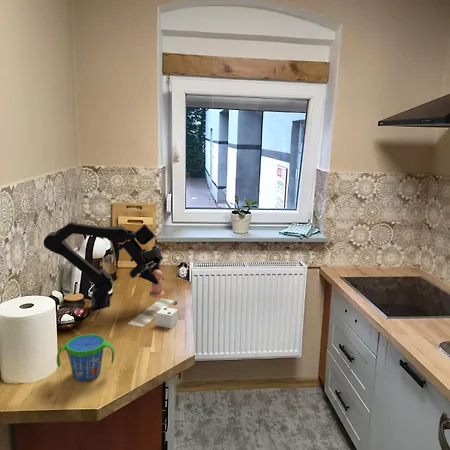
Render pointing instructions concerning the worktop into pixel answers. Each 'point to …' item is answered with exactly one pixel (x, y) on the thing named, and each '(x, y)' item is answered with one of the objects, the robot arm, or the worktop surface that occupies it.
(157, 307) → the board
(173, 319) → the die
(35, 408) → the worktop surface
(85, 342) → the snack cup
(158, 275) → the pawn
